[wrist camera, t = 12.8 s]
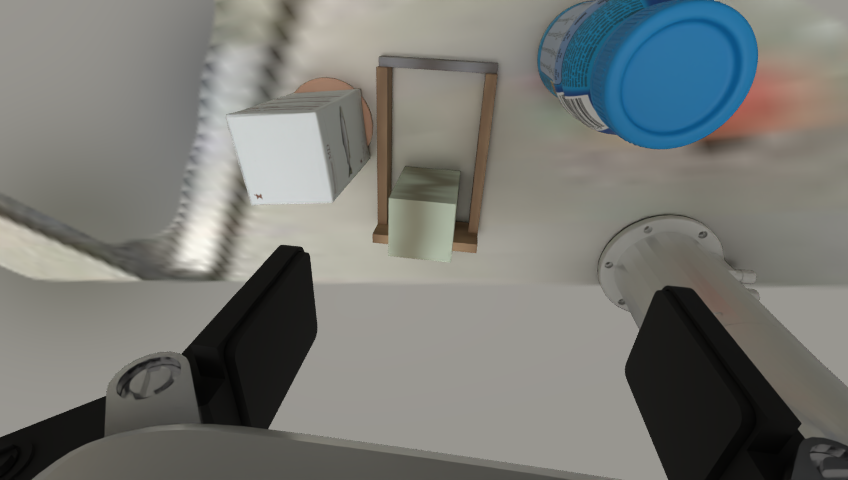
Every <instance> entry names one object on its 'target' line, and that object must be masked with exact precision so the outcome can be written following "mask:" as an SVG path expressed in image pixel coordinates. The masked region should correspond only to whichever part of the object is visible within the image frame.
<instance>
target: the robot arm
mask: <svg viewBox="0 0 848 480" xmlns="http://www.w3.org/2000/svg"><path fill="white" fill-rule="evenodd" d="M645 227H646V228H645ZM598 279H599V282H600V285H601V287H602V289H603V291H604V293H605V295H606V296H607V297H608V298H609V300H610V301H611V302H612V303H614V304H615V305H616V306H618V307H620V308H622V309H624V310H626V311H629V312H630V313H631V314H632V316H633V318H634V320H635V322H636V324H637V326H638V328H639V333H638V335H637V338H636V340H635V343H634V345H633V348H632V350H631V353H630V355H629V358H628V360H627V363H626V366H625V375H626V379H627V381H628V384H629V386H630V389H631V391H632V393H633V396H634V398H635V401H636V403H637V405H638V408H639V410H640V413H641V415H642V417H643V420H644V422H645V425H646V427H647V429H648V432H649V434H650V437H651V439H652V442H653V444H654V446H655V449H656V451H657V454H658V456H659V458H660V461H661V463H662V466H663V468H664V470H665V473H666V475H667V478H668V480H848V387H847V386H846V385H845V384H844V383H843V382H842V381H840V379H838V378H837V377H836V376H835V375H834V374H833V373H832V372H831V371H830V370H829V369H828V368H826V367H825V366H824V365H823V364H822V363H821V362H820V361H819V360H818V359H817V358H816V357H815V356H814V355H813V354H812V353H811V352H810V351H809V350H808V349H807V348H806V347H804V345H803V344H802V343H801V342H799V341H798V340H797V339H796V338H795V336H793V335H792V334H791V333H790V332H789V331H788V330H787V329H786V328H785V327H784V326H783V325H782V324H781V323H780V322H779V321H778V320H777V319H776V318H775V317H774V316H773V315H772V314H771V313H770V312H769V311H768V310H767V309H766V308H765V307H764V306H763V305H762V304H761V303H760V302H759V300H760V297H759V293H758V292H757V291H756V290H754V289H747V288H745V287H744V286H743V285H742V284H741V283H746V284H753V283H754V282H755V281H756V274H755V272H754V271H749V270H734V269H733V268H731V267H730V266H729V265H728V264H727V263H726V262H725V261H724V253H723V248H722V245H721V243H720V241H719V239H718V238H717V236H716V235H715V234H714V233H713V232H712V231H711V230H710V229H708V228H707V227H706V226H705V225H704V224H702V223H700V222H698V221H696V220H694V219H691V218H687V217H684V216H674V215H666V216H656V217H652V218H648V219H644V220H642V221H639V222H637V223H634V224H632V225H631V226H629V227H627V228H625V229H624V230H623V231H621V232H620V233H619V234H618V235H616V236H615V237H614V238H613V239H612V240H611V241H610V243H609V244H608V245H607V246H606V248H605V250H604V251H603V253H602V255H601V258H600V261H599V265H598ZM316 334H317V318H316V309H315V299H314V291H313V281H312V271H311V262H310V255H309V253H306V252H304V250H303V248H302V247H298V246H289V245H280V246H279V247H278V248H277V249H276V250H275V251H274V252H273V253H272V255H271V256H270V257H269V258H268V259H267V260H266V261H265V262H264V263H263V265H262V266H261V267H260V268H259V269H258V270H257V271H256V272H255V273H254V275H253V276H252V277H251V278H250V279H249V280H248V281H247V282H246V283H245V285H244V286H243V287H242V288H241V289H240V290H239V291H238V292H237V293H236V294H235V295H234V296H233V297H232V299H231V300H230V301H229V302H228V303H227V304H226V305H225V306H224V307H223V309H222V310H221V311H220V312H219V313H218V314H217V315H216V316H215V318H213V320H212V321H211V322H210V323H209V324H208V325H207V326H206V327H205V329H204V330H203V331H202V332H201V333H200V334H199V335H198V336H197V337H196V338H195V340H194V341H193V342H192V343H191V344H190V345H189V346H188V347H187V349H185V351H184V352H183V353H182V354H180V353H175V352H158V353H154V354H149V355H146V356H144V357H141V358H139V359H137V360H135V361H133V362H131V363H130V364H128V365H126V366H125V367H123V368H122V369H121V370H120V371H119V372H118V373H116V374H115V376H114V377H113V378H112V380H111V381H110V382H109V385H108V388H107V391H106V396H105V397H102V398H100V399H97V400H94V401H92V402H89V403H87V404H84V405H82V406H79V407H76V408H74V409H71V410H69V411H66V412H64V413H61V414H59V415H56V416H54V417H51V418H48V419H46V420H44V421H41V422H38V423H36V424H33V425H31V426H28V427H25V428H23V429H20V430H18V431H15V432H13V433H10V434H8V435H5V436H3V437H0V480H620V479H614V478H607V477H601V476H594V475H587V474H581V473H574V472H567V471H561V470H554V469H548V468H541V467H534V466H527V465H520V464H513V463H507V462H499V461H493V460H486V459H479V458H472V457H465V456H458V455H451V454H444V453H438V452H431V451H424V450H417V449H409V448H403V447H396V446H388V445H382V444H374V443H367V442H360V441H353V440H346V439H339V438H331V437H324V436H317V435H310V434H302V433H294V432H285V431H277V430H269V429H268V428H269V426H270V424H271V422H272V420H273V419H274V417H275V415H276V413H277V411H278V408H279V407H280V405H281V403H282V401H283V399H284V397H285V395H286V394H287V392H288V390H289V388H290V386H291V384H292V382H293V380H294V378H295V376H296V374H297V372H298V370H299V369H300V367H301V365H302V363H303V361H304V359H305V357H306V355H307V353H308V351H309V350H310V348H311V346H312V344H313V342H314V340H315V338H316Z"/></svg>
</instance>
